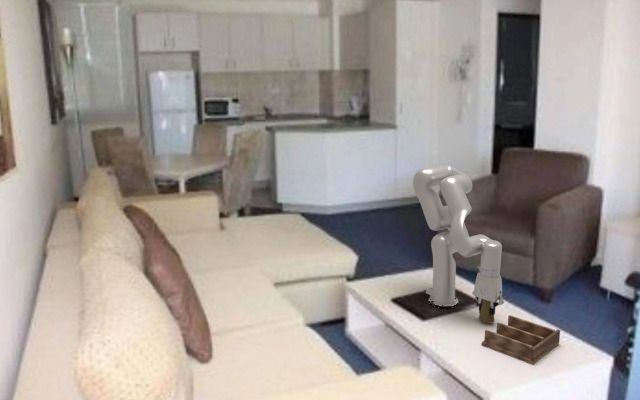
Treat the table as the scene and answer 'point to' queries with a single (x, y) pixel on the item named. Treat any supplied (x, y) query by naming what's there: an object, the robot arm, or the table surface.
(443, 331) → the table surface
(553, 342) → the slot rack
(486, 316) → the cork
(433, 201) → the robot arm
